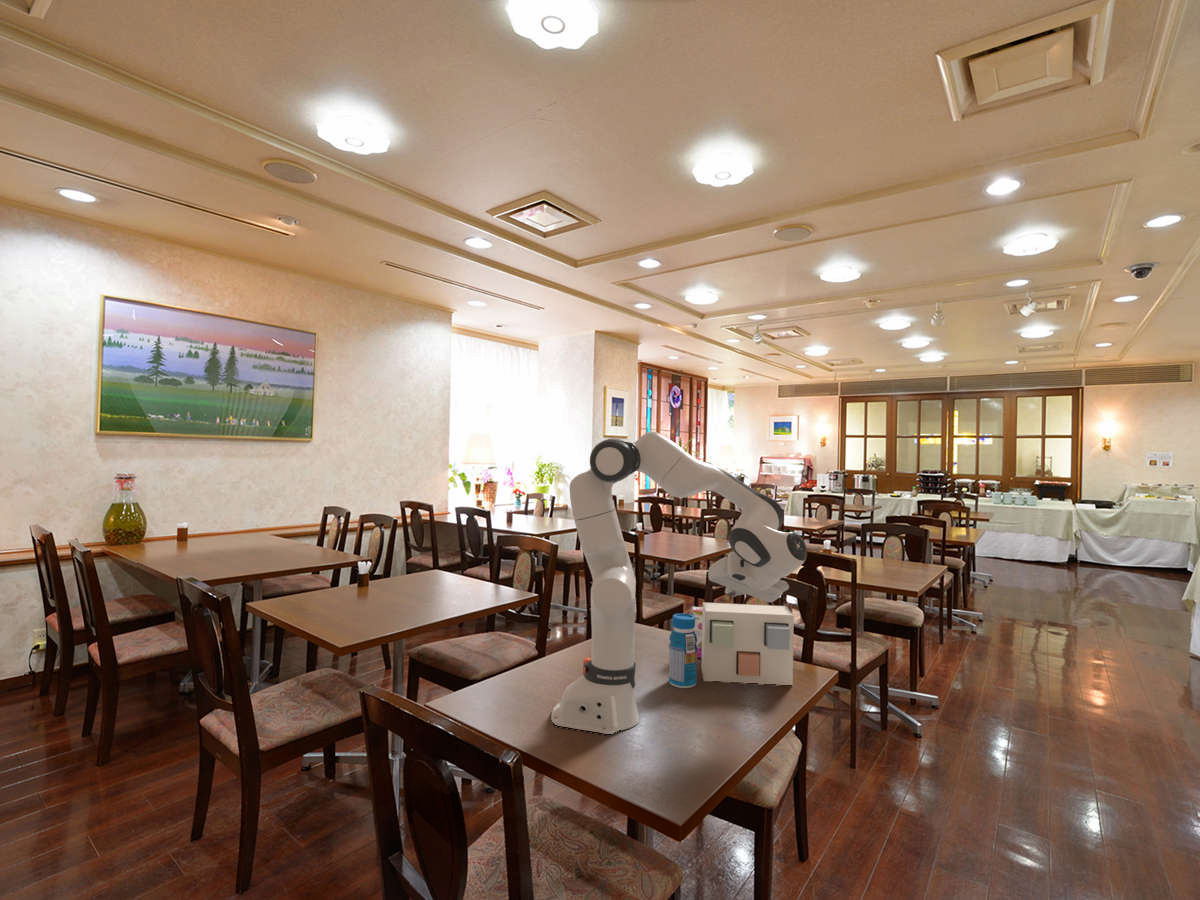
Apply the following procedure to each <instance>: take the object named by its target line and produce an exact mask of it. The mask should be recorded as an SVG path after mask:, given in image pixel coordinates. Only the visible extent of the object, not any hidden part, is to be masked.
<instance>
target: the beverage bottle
mask: <svg viewBox="0 0 1200 900" xmlns="http://www.w3.org/2000/svg"><path fill="white" fill-rule="evenodd" d="M671 622H672V624H671V625H672V626H671V627H672V628H673V629H672V631H671V633H670V635H669V641H670V642H669V645H668V651H669V658H668V659H669V661H668V662H669V663H668V668H669V669H668V682H669V684H670V685H671V686H673V687H675V688H679V689H691V688H693V687H695V686H696V685H697V667H698V666H697V660H698V659H697V651H698V649H697V645H696V643H697V637H696V634H695V632H694V631H693V629H694V628H695V617H694V616H693V615H691V613H690V614H689V613H675V614H673V615H672V619H671Z"/></svg>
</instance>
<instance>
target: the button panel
mask: <svg viewBox="0 0 1200 900" xmlns="http://www.w3.org/2000/svg"><path fill="white" fill-rule="evenodd" d="M702 607H703V612H702V659H701V665H700V666H701V673H702V678H703V682H713V681H721V682H720V683H730V682H741V683H740V684H747V683H758V684H757V685H764V684H776V685H775V686H780V685H793V683H794V677H793V675H794V673H793V672H794V628H795V627H794V625H795V621H794V620H795V617H794V616H795V615H794V614H793V613H792V611H791V610H790V609H789V608H788V607H787V606H786V605H766V604H747V603H745V604H744V603H742V604H741V603H726V602H725V603H724V602H720V603H719V602H702ZM711 620H727V621H732V624H733V626H734V634H733V647H728V646H712V642H711ZM765 622H768V623H786V625H787V626H788V627H789V629H790V640H789V650H784V649H768V647H767V646H766V644H765ZM737 651H744V652H758V654H759V656H760V662H759V676H748V675H738V672H737V669H736V654H737ZM722 681H723V682H722ZM742 682H743V683H742ZM777 684H779V685H777Z"/></svg>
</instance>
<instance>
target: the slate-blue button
mask: <svg viewBox="0 0 1200 900" xmlns="http://www.w3.org/2000/svg"><path fill="white" fill-rule="evenodd" d="M789 640H790V629H789V627H788V626H787V625H786V623H768V622H765V644H766V646H767V647H768V649H784V650H789Z"/></svg>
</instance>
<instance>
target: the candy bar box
mask: <svg viewBox="0 0 1200 900" xmlns="http://www.w3.org/2000/svg"><path fill="white" fill-rule="evenodd" d="M690 608H691V609H690V615H693V616H694V617H695V628H694V629H693V631H694V632H695V634H696V637H697V643H696V645H697V649H698V651H697V660H702V612H703V606H690Z"/></svg>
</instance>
